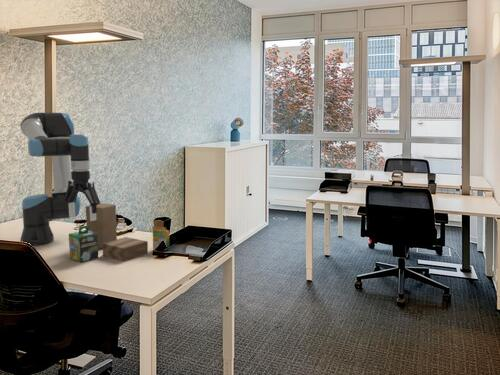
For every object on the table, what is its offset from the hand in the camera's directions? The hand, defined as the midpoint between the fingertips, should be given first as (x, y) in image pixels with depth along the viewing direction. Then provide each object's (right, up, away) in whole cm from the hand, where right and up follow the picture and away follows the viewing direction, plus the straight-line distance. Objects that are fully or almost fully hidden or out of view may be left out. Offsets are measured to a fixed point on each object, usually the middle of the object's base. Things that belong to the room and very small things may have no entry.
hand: (82, 218), depth 199 cm
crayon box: (+31, -16, +17) cm, 39 cm away
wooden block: (+1, -15, +23) cm, 28 cm away
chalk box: (0, -18, +3) cm, 18 cm away
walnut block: (+16, -17, +9) cm, 25 cm away
